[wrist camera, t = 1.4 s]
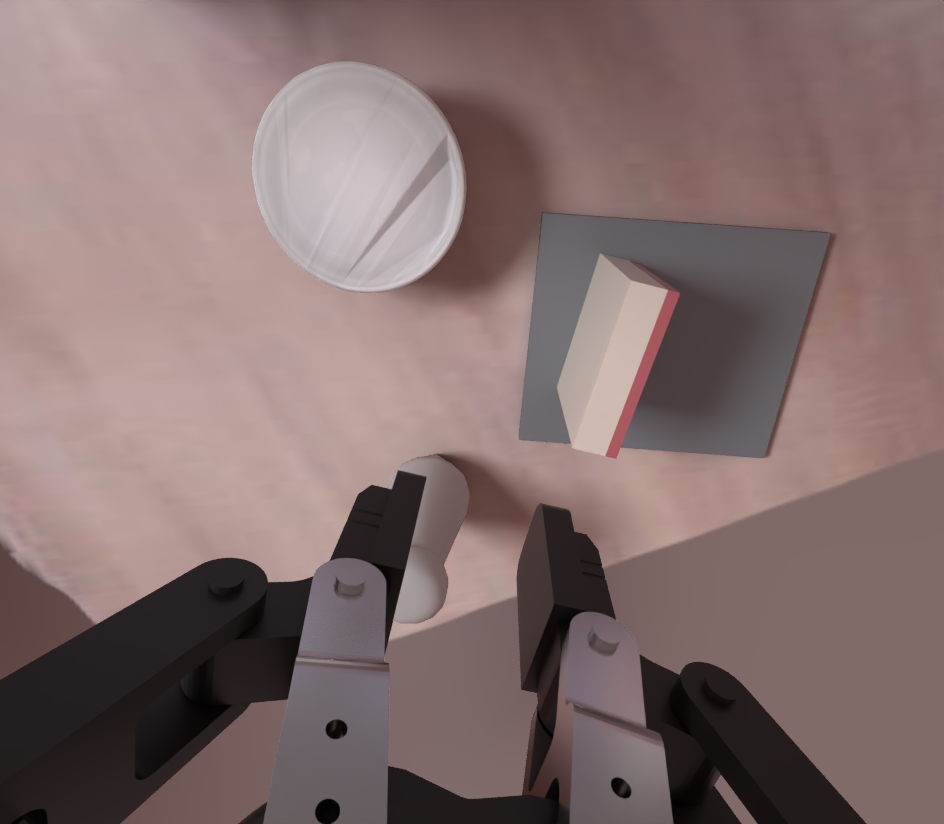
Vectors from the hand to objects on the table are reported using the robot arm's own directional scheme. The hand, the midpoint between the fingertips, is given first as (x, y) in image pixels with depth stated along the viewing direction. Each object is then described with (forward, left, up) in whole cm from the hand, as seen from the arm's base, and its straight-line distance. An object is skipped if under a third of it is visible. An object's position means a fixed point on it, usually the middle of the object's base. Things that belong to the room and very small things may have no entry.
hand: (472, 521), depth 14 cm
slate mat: (+2, +11, -25) cm, 28 cm away
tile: (+1, +7, -25) cm, 25 cm away
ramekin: (-6, -7, -25) cm, 27 cm away
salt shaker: (+14, -3, -25) cm, 29 cm away
